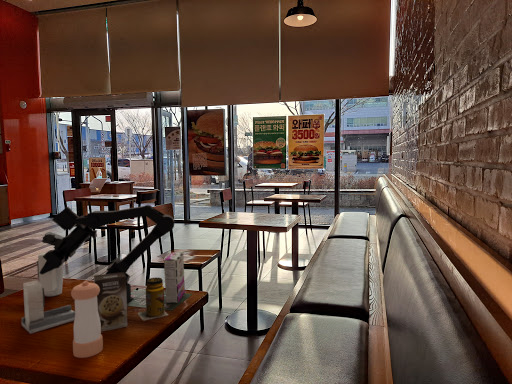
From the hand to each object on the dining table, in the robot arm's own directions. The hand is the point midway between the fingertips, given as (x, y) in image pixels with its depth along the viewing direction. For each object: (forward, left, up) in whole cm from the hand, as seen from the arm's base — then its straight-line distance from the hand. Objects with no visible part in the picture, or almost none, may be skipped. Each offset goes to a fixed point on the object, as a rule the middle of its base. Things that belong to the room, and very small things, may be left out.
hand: (43, 271), depth 126 cm
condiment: (-41, -4, -14) cm, 43 cm away
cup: (+9, -13, -14) cm, 21 cm away
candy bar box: (-41, -20, -14) cm, 47 cm away
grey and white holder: (-12, +9, -13) cm, 20 cm away
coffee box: (-33, +7, -14) cm, 36 cm away
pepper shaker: (-37, +22, -14) cm, 45 cm away
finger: (-1, -1, -7) cm, 7 cm away
